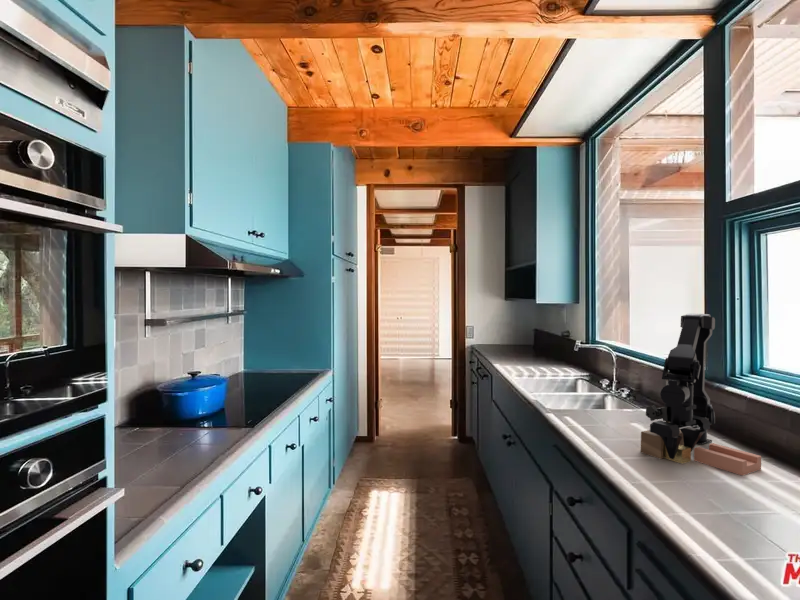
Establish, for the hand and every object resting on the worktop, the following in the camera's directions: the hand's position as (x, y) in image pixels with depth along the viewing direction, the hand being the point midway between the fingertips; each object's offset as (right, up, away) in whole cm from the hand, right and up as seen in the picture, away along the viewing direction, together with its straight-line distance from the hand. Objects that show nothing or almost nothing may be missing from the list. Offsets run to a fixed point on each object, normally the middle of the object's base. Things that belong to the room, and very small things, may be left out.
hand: (679, 456), depth 131 cm
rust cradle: (+11, -1, -3) cm, 11 cm away
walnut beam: (0, -1, +7) cm, 7 cm away
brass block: (-2, -1, +4) cm, 4 cm away
